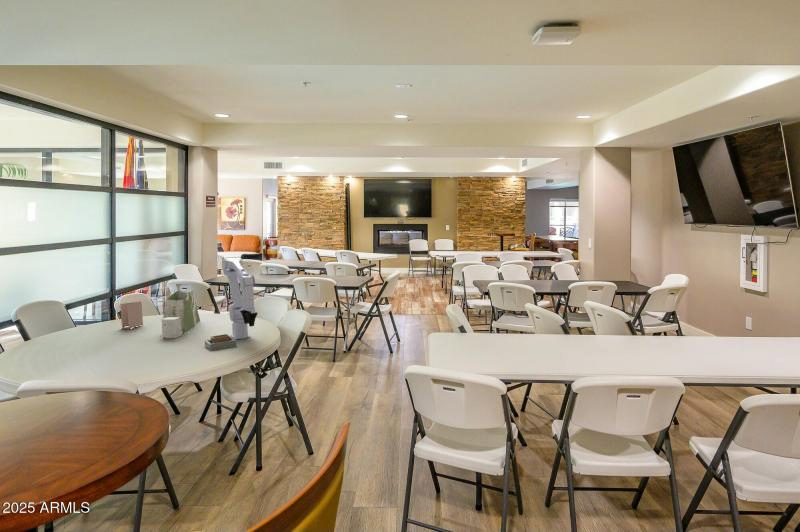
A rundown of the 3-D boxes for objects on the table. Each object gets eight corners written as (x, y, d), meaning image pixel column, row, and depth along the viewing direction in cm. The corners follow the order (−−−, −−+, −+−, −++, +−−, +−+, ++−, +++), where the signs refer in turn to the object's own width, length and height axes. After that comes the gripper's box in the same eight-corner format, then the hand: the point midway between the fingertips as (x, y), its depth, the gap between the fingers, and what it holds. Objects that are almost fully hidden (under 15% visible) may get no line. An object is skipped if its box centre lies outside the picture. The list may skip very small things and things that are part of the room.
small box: (181, 335, 271) (180, 317, 270) (176, 338, 266) (175, 319, 265) (168, 335, 272) (167, 317, 271) (162, 338, 266) (161, 319, 265)
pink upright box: (142, 325, 299) (140, 301, 297) (146, 327, 294) (144, 302, 292) (121, 328, 291) (119, 303, 290) (125, 330, 286) (123, 305, 284)
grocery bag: (188, 332, 278) (185, 292, 276) (162, 334, 276) (159, 293, 274) (201, 320, 310) (199, 284, 307) (178, 322, 308) (175, 285, 305)
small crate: (211, 345, 248) (210, 336, 247) (227, 342, 252) (226, 334, 252) (213, 347, 243) (213, 338, 243) (230, 344, 248) (229, 335, 248)
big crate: (204, 346, 248) (204, 340, 248) (230, 341, 256) (230, 336, 255) (210, 350, 240) (209, 344, 240) (236, 345, 248) (236, 340, 247)
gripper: (235, 297, 255) (237, 323, 256) (244, 301, 243) (246, 328, 244) (249, 296, 259) (250, 321, 260) (258, 300, 247) (259, 326, 248)
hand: (249, 324), depth 252 cm, fingers open, 7 cm apart
